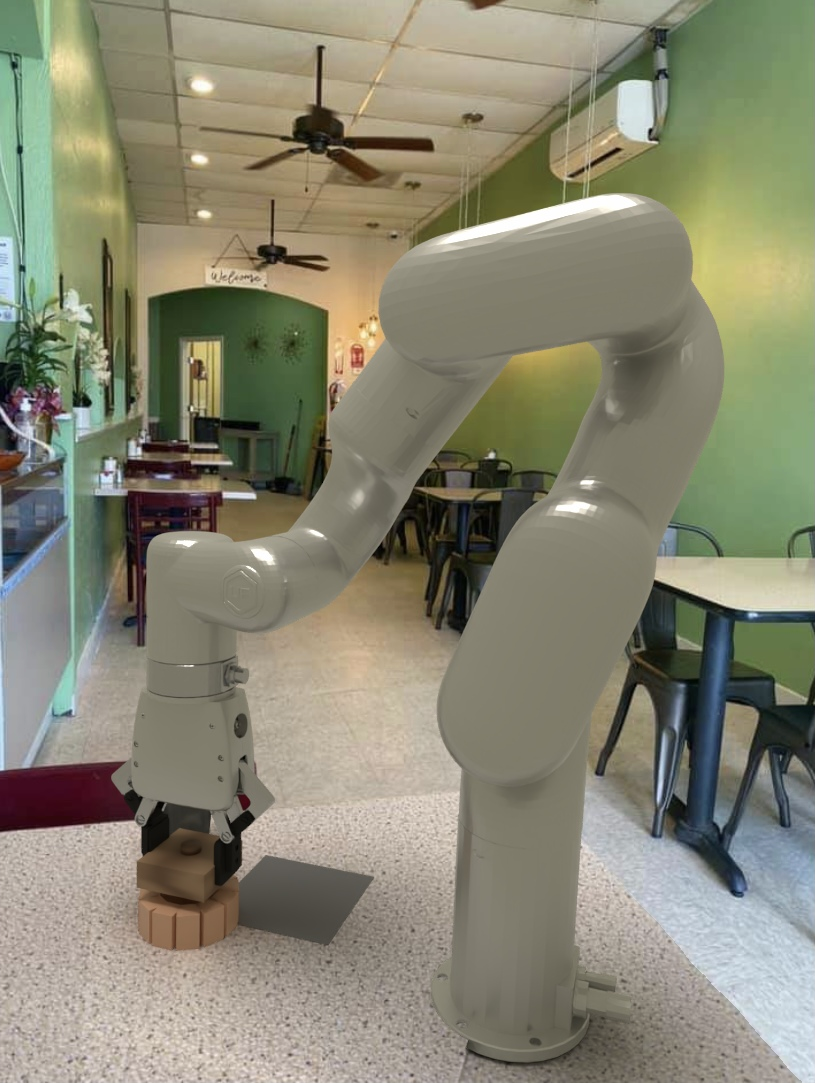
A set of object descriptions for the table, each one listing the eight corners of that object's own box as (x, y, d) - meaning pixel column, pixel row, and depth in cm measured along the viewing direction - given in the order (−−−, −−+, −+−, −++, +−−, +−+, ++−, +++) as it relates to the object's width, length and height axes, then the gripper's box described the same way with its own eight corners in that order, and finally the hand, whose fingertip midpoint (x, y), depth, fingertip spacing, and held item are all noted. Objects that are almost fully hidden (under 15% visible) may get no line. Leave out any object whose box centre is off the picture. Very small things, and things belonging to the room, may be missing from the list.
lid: (242, 865, 75) (242, 834, 75) (203, 902, 69) (204, 868, 68) (179, 852, 77) (179, 822, 77) (136, 887, 71) (136, 854, 70)
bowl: (255, 914, 76) (255, 874, 76) (206, 969, 68) (206, 925, 68) (174, 896, 79) (174, 857, 78) (118, 947, 71) (118, 904, 70)
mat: (373, 886, 82) (374, 876, 82) (327, 955, 71) (328, 944, 71) (265, 864, 86) (266, 855, 85) (205, 926, 74) (205, 916, 74)
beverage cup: (201, 874, 83) (203, 683, 81) (136, 865, 84) (136, 676, 82) (231, 841, 90) (233, 664, 88) (170, 833, 91) (171, 658, 89)
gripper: (301, 675, 72) (297, 868, 74) (132, 653, 77) (133, 835, 79) (262, 699, 65) (258, 912, 67) (78, 674, 70) (80, 873, 72)
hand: (190, 868), depth 73 cm, fingers closed on lid, 6 cm apart
